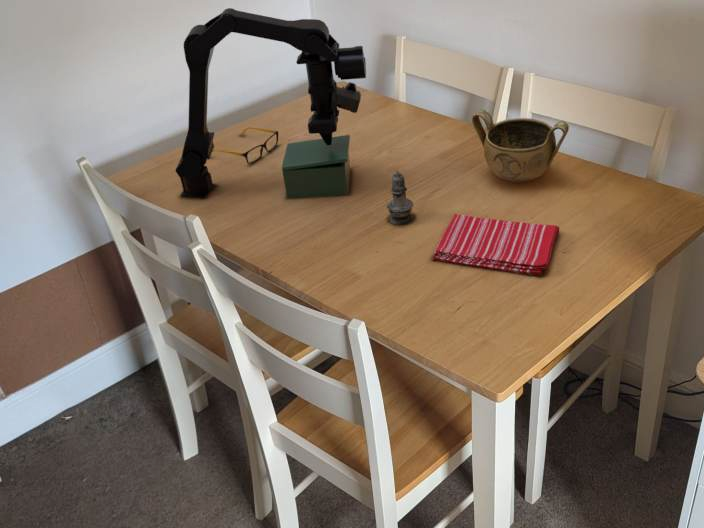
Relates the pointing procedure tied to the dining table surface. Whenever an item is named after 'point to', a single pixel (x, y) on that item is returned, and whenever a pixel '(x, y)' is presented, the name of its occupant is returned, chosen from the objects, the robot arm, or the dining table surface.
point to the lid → (316, 153)
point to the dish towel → (497, 244)
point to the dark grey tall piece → (399, 202)
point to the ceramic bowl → (518, 146)
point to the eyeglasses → (254, 147)
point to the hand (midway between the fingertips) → (329, 144)
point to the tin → (318, 180)
